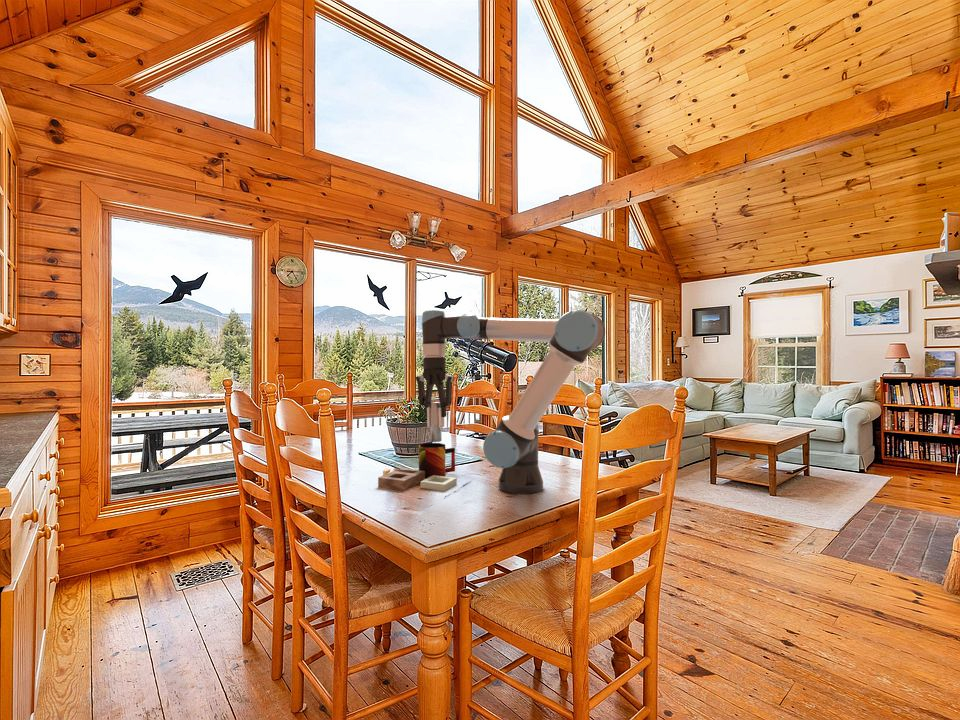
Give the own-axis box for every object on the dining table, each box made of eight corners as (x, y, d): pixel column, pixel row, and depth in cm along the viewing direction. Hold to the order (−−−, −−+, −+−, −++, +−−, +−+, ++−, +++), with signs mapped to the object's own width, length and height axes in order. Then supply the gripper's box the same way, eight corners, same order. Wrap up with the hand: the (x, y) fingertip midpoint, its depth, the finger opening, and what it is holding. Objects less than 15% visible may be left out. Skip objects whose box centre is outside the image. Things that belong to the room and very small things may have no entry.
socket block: (425, 482, 171) (425, 470, 171) (404, 493, 158) (404, 480, 158) (400, 479, 175) (400, 468, 175) (378, 489, 162) (378, 477, 162)
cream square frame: (456, 486, 166) (456, 477, 166) (444, 493, 157) (444, 484, 157) (433, 483, 169) (433, 475, 169) (420, 490, 161) (420, 481, 161)
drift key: (411, 481, 171) (411, 471, 171) (407, 483, 169) (407, 473, 169) (387, 478, 175) (387, 468, 175) (383, 480, 172) (383, 470, 172)
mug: (455, 474, 183) (455, 442, 182) (436, 483, 170) (436, 449, 170) (433, 471, 187) (433, 440, 187) (413, 479, 174) (413, 446, 174)
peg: (443, 440, 164) (442, 401, 164) (438, 442, 160) (437, 402, 160) (433, 439, 165) (432, 401, 165) (428, 441, 162) (427, 402, 162)
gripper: (461, 356, 163) (463, 425, 163) (417, 357, 169) (419, 424, 169) (452, 356, 156) (453, 429, 156) (406, 357, 162) (408, 427, 162)
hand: (435, 426), depth 163 cm, fingers closed on peg, 3 cm apart
